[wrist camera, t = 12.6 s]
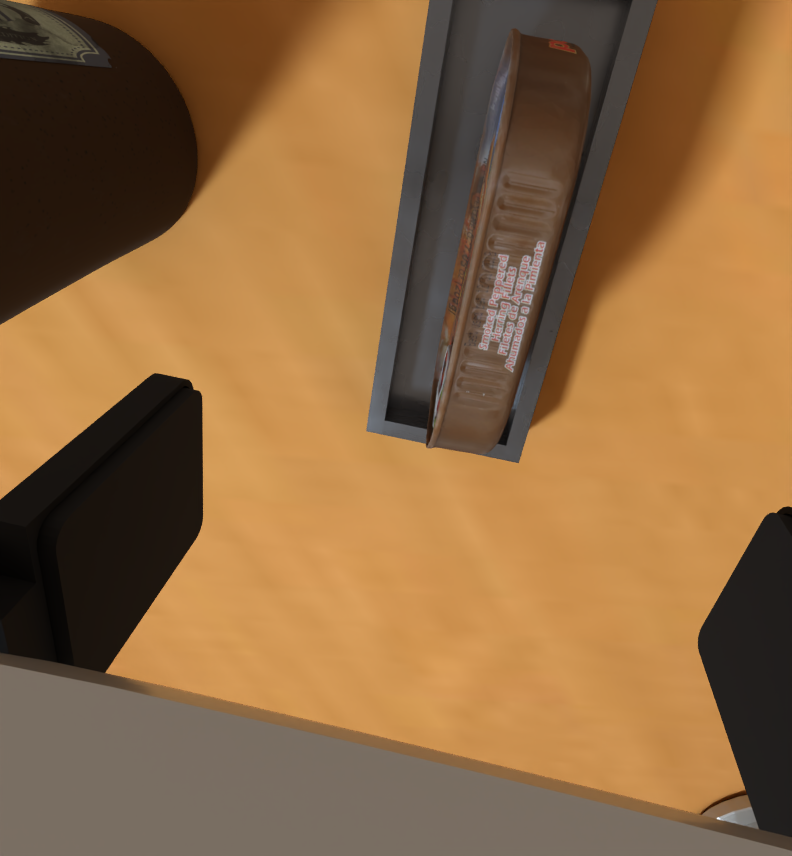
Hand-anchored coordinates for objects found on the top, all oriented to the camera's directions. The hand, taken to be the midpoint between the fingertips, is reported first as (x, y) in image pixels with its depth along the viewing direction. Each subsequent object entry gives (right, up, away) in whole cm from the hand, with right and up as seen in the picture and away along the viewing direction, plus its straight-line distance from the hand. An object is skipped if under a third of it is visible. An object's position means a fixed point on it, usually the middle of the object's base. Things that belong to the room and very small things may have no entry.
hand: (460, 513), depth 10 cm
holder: (+3, +10, +17) cm, 20 cm away
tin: (+3, +9, +17) cm, 20 cm away
